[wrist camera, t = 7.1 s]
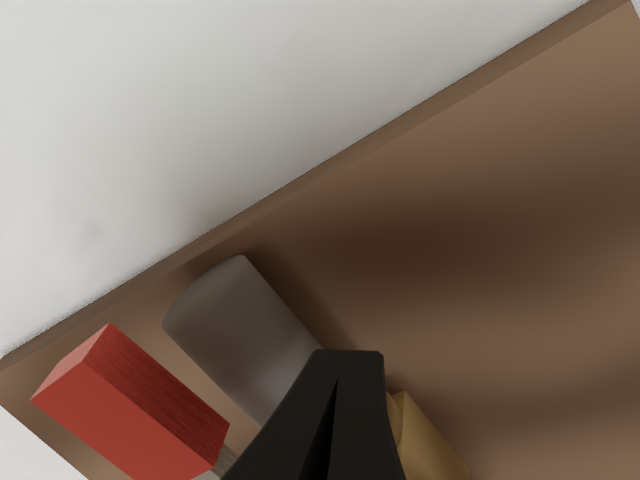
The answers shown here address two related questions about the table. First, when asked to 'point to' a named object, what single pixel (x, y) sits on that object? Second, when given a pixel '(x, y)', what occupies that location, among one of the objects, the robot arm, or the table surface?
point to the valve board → (426, 276)
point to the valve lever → (135, 411)
